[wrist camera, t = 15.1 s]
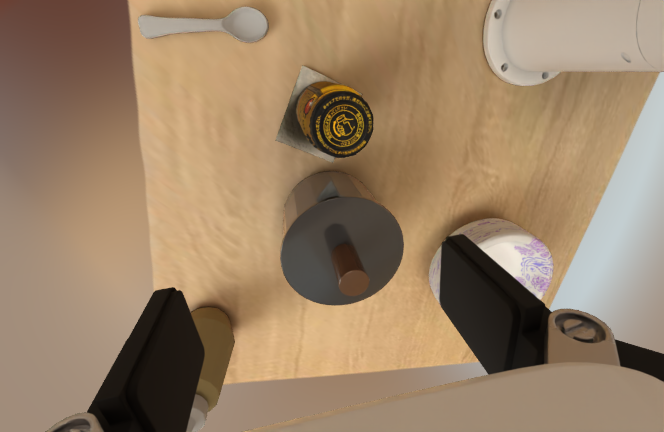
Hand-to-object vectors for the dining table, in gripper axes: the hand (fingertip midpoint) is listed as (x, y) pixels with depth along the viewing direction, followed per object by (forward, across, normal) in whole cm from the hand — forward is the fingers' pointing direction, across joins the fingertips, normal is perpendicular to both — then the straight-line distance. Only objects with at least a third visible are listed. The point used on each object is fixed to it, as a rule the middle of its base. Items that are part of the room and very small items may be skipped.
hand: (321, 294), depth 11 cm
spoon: (+28, +6, -12) cm, 32 cm away
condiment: (+28, -4, -2) cm, 29 cm away
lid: (+19, -3, +10) cm, 22 cm away
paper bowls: (+28, -23, +21) cm, 42 cm away
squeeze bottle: (+28, +16, +24) cm, 40 cm away
